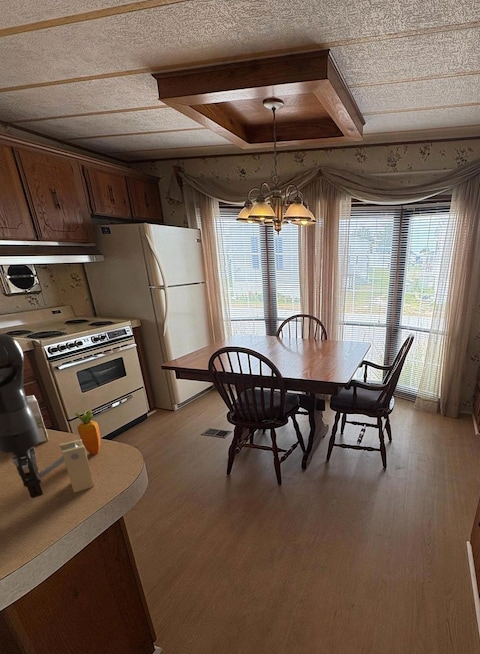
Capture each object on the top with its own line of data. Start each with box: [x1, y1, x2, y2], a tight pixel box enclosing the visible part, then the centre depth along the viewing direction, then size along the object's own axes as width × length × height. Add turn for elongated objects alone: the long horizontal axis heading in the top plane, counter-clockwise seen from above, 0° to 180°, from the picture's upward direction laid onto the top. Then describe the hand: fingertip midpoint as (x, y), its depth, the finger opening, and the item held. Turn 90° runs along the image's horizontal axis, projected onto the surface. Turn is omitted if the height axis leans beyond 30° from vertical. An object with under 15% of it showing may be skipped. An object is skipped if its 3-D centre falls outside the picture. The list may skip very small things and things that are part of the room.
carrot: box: [74, 410, 101, 456], centre depth 99 cm, size 5×5×15 cm
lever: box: [29, 444, 79, 479], centre depth 82 cm, size 12×5×2 cm, turn 130°
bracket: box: [59, 438, 95, 493], centre depth 86 cm, size 8×7×13 cm
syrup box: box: [26, 394, 50, 444], centre depth 106 cm, size 6×6×14 cm
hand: (36, 489), depth 81 cm, fingers closed on lever, 5 cm apart
